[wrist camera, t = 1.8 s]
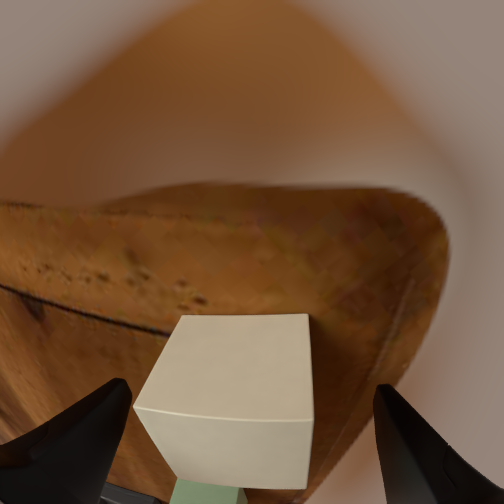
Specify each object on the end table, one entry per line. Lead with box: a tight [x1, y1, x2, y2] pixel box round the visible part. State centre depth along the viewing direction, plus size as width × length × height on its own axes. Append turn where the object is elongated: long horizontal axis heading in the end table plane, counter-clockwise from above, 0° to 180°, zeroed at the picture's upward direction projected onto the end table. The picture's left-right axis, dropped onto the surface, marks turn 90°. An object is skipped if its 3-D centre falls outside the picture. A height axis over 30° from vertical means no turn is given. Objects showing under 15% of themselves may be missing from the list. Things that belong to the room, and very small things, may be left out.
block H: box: [133, 314, 314, 489], centre depth 9 cm, size 4×4×4 cm
